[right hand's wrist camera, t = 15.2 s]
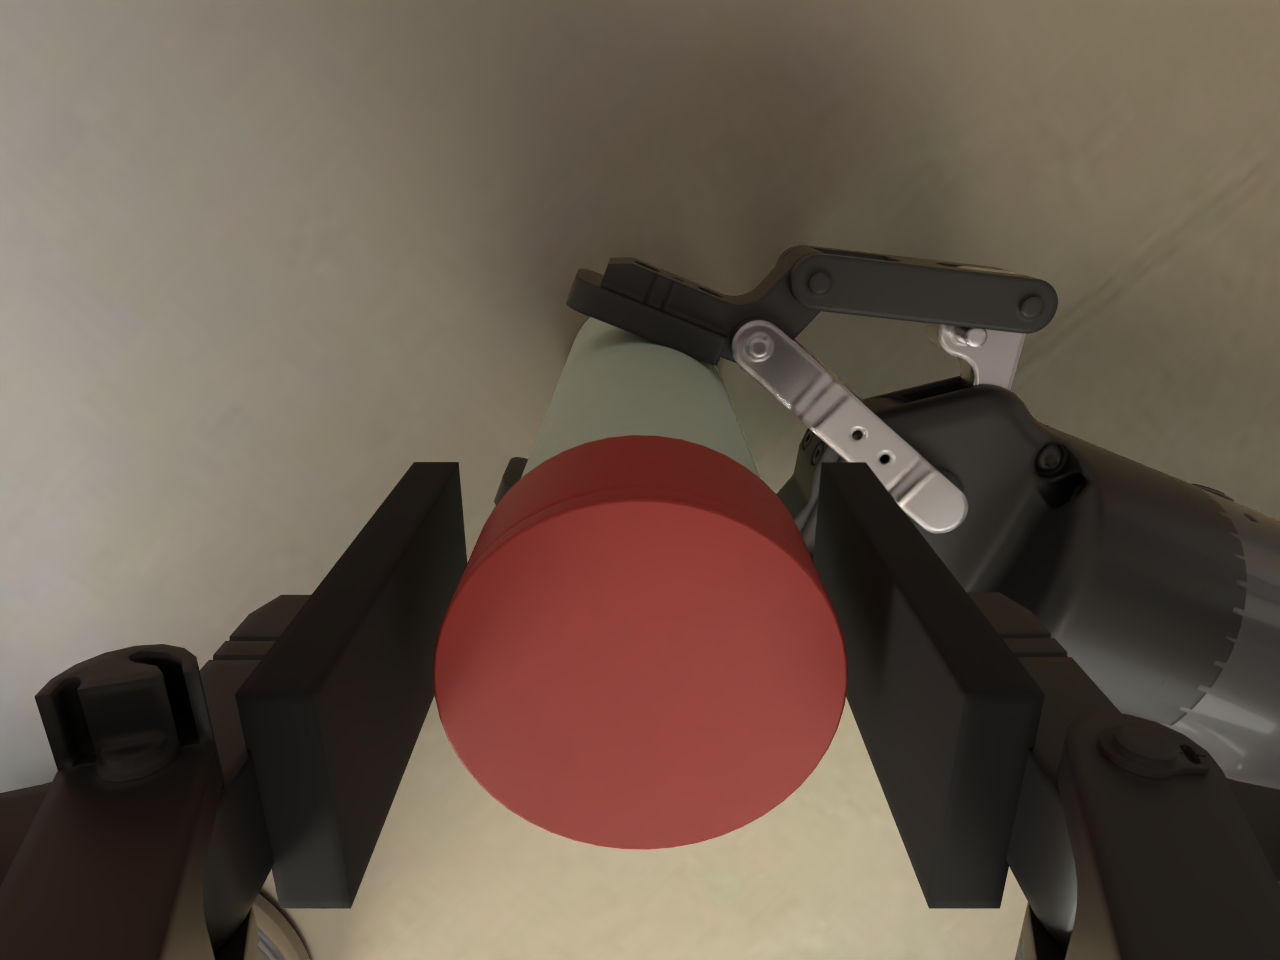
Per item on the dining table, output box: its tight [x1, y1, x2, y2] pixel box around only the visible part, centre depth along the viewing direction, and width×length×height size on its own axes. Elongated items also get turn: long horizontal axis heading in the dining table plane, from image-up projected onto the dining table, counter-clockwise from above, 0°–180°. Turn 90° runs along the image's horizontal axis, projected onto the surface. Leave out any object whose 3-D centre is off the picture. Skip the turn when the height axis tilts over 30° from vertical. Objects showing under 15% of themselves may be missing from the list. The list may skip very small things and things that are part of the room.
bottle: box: [521, 317, 760, 478], centre depth 18 cm, size 5×5×17 cm
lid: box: [433, 435, 848, 849], centre depth 11 cm, size 5×5×2 cm
